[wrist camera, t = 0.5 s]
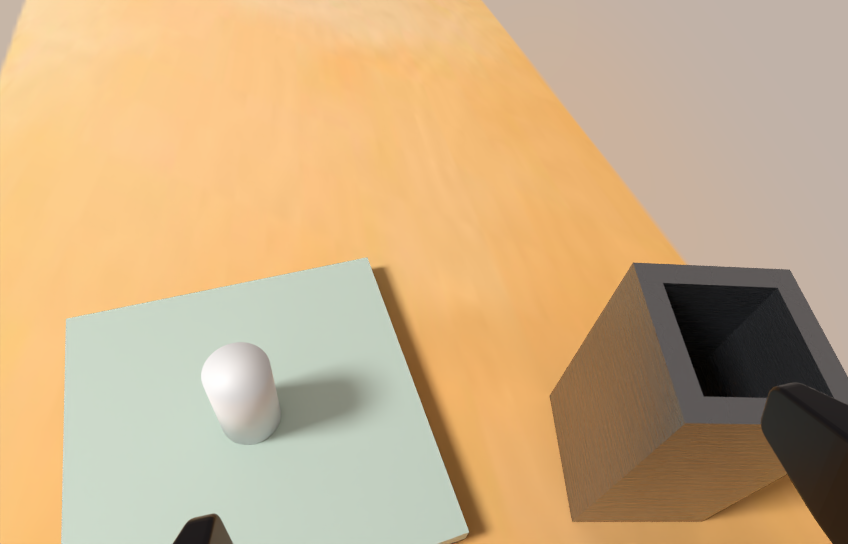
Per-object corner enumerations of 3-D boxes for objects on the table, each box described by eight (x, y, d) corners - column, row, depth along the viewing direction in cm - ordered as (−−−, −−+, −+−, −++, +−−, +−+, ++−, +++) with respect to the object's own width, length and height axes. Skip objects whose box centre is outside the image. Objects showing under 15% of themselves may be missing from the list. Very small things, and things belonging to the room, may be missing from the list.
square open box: (701, 521, 24) (874, 426, 16) (572, 521, 23) (685, 423, 15) (663, 398, 27) (789, 269, 19) (549, 395, 27) (632, 262, 19)
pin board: (465, 538, 22) (489, 500, 18) (70, 683, 18) (-5, 675, 14) (366, 269, 30) (369, 202, 26) (74, 330, 26) (26, 263, 22)
